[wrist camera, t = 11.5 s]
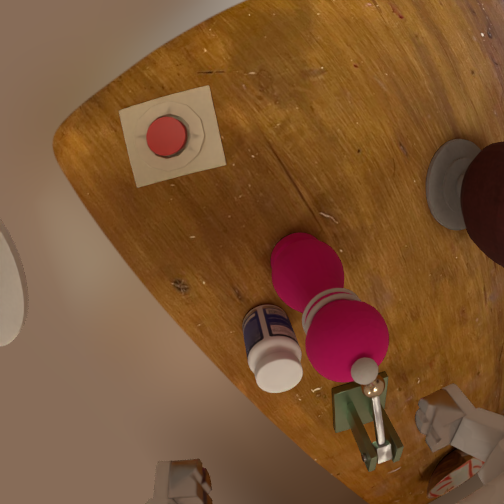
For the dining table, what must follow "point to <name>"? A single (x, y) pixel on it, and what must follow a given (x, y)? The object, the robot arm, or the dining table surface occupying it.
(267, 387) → the pill bottle
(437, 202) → the mate gourd
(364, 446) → the bracket
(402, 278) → the dining table surface
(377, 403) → the lever
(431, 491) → the bowl
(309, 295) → the pepper mill
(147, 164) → the box
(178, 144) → the button
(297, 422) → the dining table surface
